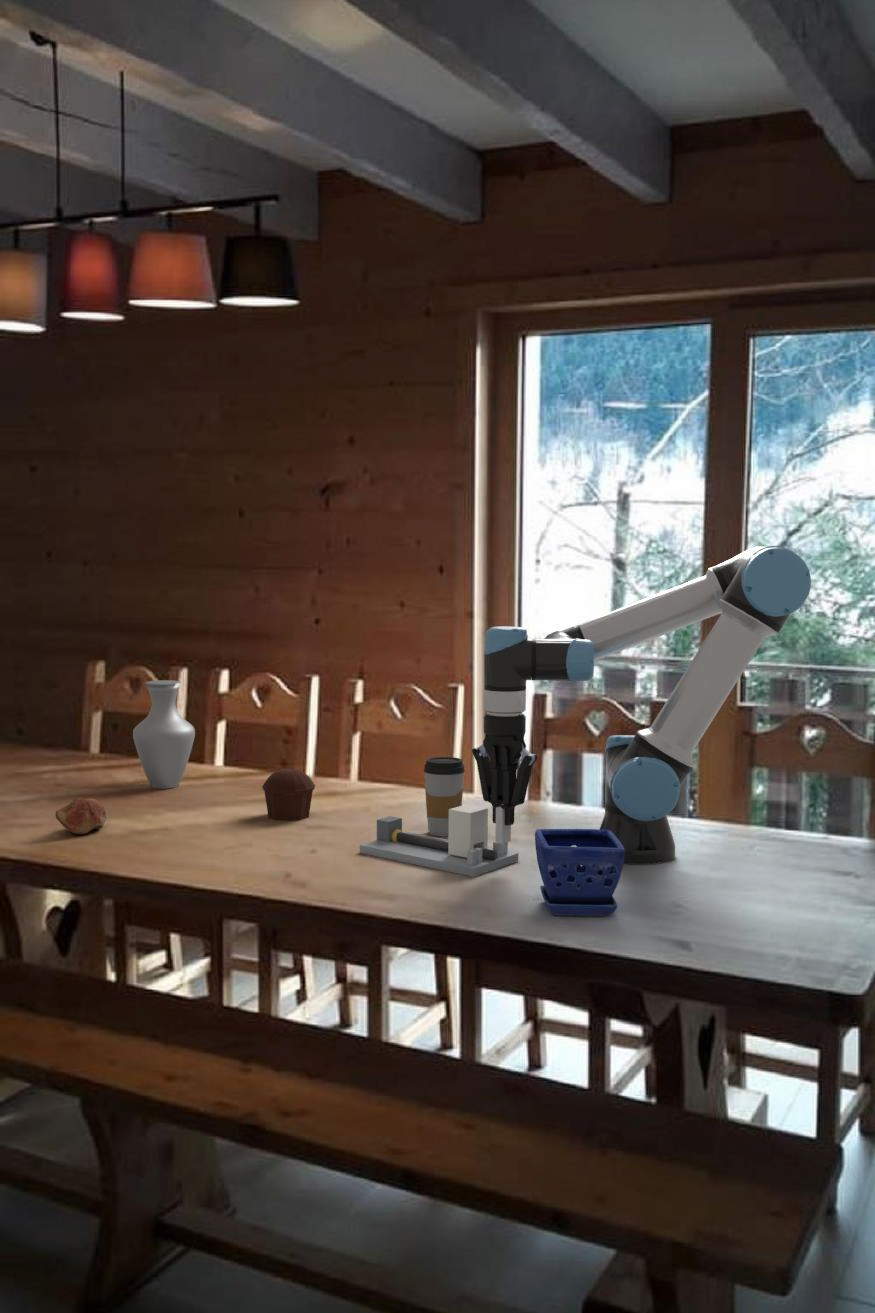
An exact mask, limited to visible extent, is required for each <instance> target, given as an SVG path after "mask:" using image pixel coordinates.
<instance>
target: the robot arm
mask: <svg viewBox="0 0 875 1313" xmlns="http://www.w3.org/2000/svg"><path fill="white" fill-rule="evenodd" d="M811 585H812V578H811V573H810V569H809V567H808V565H807V563H806V562H805V561H804V559H803V558H801V556H800V555H798V554H797V553H795V552H794V551H793V550H791V549H788V548H786V547H785V546H780V545H758V546H753V547H750V548H749V549H746V550H745V551H743V552H741V553H739V554H737V555H735V556H734V557H732V558H730V559H728V560H725V561H724V562H722V563H719V564H717V565H714V566H712V567H709V568H708V569H707V571H706V572H705V575H704V576H701V577H698V578H695V579H693V580H689V581H688V582H685V583H683V584H681V585H677V586H675V587H672V588H670V589H667V590H664V591H662V592H659V593H656V594H654V595H651V596H648V597H645V598H643V599H641V600H638V601H635V602H633V603H630V604H628V605H625V606H622V607H620V608H617V609H615V610H613V611H610V612H607V613H605V614H602V615H600V616H597V617H594V618H592V619H590V620H589V619H588V620H586V621H583V622H581V623H578V625H574V626H571V627H569V628H566V629H563V630H555V631H553V632H551V633H549V634H547V635H546V636H545V637H544V638H532V637H529V636H528V631H527V628H525V627H522V626H506V625H505V626H504V625H503V626H492V627H490V628H488V630H487V631H486V632H485V638H484V639H485V640H484V651H483V652H484V654H483V656H484V657H483V658H484V659H483V660H484V663H483V664H484V667H483V670H484V674H483V675H484V683H483V684H484V690H483V710H484V711H485V712H486V713H485V714H484V715H483V733H484V734H485V737H484V739H483V741H482V744H481V745H480V746H478V747H475V748H474V747H473V748H472V750H471V753H472V755H473V757H474V759H475V762H476V765H477V766H476V767H477V772H478V777H479V782H480V788H481V794H482V799H483V801H484V802H488V803H490V804H491V806H492V824H495V836H494V837H495V841H494V842H495V843H500V844H504V843H507V842H508V843H509V842H511V841H512V839H511V838H512V833H511V832H512V826H513V825H514V824H515V808H516V807H518V806H519V805H523V804H524V803H525V800H526V797H527V796H526V795H527V791H528V787H529V784H530V777H531V774H532V769H533V766H534V764H535V763H536V761H537V759H538V755H537V754H536V753H531V752H530V751H529V750H528V749H527V745H526V742H525V734H526V731H527V730H526V727H527V725H526V723H527V721H526V718H527V716H526V715H525V714H524V712H525V711H526V709H527V707H526V706H527V705H526V704H527V703H526V702H527V681H548V682H549V681H552V682H554V681H555V682H572V683H576V682H588V681H591V680H592V679H593V678H594V670H595V668H594V667H595V661H598V660H601V659H602V658H603V659H604V658H605V657H608V656H611V655H614V654H616V653H619V652H622V651H625V650H626V649H629V648H632V647H634V646H637V645H640V644H643V643H645V642H649V641H651V640H654V639H655V638H659V637H662V636H664V635H667V634H669V633H672V632H675V631H677V630H680V629H683V628H686V627H688V626H691V625H694V624H696V623H699V622H702V621H704V620H706V619H709V618H712V617H715V616H718V618H717V619H716V620H717V621H716V622H715V624H714V625H713V626H712V628H711V630H710V631H709V633H708V635H707V636H706V638H705V639H704V641H703V642H702V644H701V646H700V647H699V649H698V650H697V652H696V654H695V655H694V657H693V658H692V660H691V662H690V663H689V664H688V666H687V668H686V670H685V672H683V674H682V676H681V678H680V680H678V682H677V684H676V686H675V687H674V689H673V691H672V692H671V694H670V695H669V697H668V698H667V700H666V701H665V703H664V705H663V706H662V708H661V709H660V711H659V712H658V714H657V716H656V717H655V719H654V720H653V722H652V724H651V726H649V727H648V728H643V729H640V730H637V731H636V733H635V735H631V734H629V735H627V734H625V735H624V734H623V735H622V734H620V735H619V734H618V735H617V734H615V735H610V736H608V738H607V739H606V745H605V749H604V753H605V786H604V787H605V790H604V791H605V793H604V794H605V795H604V798H605V799H604V814H603V818H602V821H601V824H600V827H599V828H598V829H599V830H610V831H612V832H613V834H614V835H615V836H616V837H617V839H618V840H619V841H620V842H621V844H622V845H623V847H624V849H625V854H624V862H623V864H631V865H654V864H662V863H667V862H670V861H672V860H674V859H675V857H676V843H675V840H674V836H673V833H672V830H671V827H670V822H669V819H668V814H670V813H671V812H672V811H673V809H674V808H675V806H676V805H677V804H678V801H679V798H680V794H681V787H682V785H684V782H685V781H686V779H687V778H688V776H689V775H690V773H691V771H692V770H693V768H694V766H695V765H694V759H693V752H694V751H695V749H696V747H697V746H698V744H699V743H700V741H701V739H702V738H703V736H704V734H705V733H706V732H707V730H708V729H709V726H710V725H711V724H712V722H713V721H714V719H715V717H716V716H717V714H718V712H719V711H720V709H721V708H722V706H723V704H725V701H726V700H727V698H728V697H729V695H730V694H731V692H732V690H733V689H734V687H735V685H736V684H737V682H738V681H739V680H740V678H741V676H742V675H743V673H744V672H745V670H746V668H747V667H748V665H749V664H750V661H751V660H752V659H753V658H754V655H755V654H756V652H757V651H758V649H760V647H761V644H762V643H763V641H764V640H765V639H767V638H771V637H774V636H778V635H779V633H780V632H781V630H782V628H783V627H784V626H785V623H786V622H787V620H788V618H790V616H791V614H793V613H795V612H796V611H798V610H799V609H800V608H801V606H803V605H804V603H805V602H806V600H807V599H808V597H809V594H810V591H811V589H812V588H811ZM519 762H520V763H519ZM517 770H518V771H517Z"/></svg>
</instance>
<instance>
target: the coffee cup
mask: <svg viewBox="0 0 875 1313" xmlns="http://www.w3.org/2000/svg"><path fill="white" fill-rule="evenodd" d="M465 771H466V770H465V764H464V763H463V759H462V758H458V757H453V756H452V757H451V756H437V757H436V756H435V757H429V758H427V759H426V761H425V764H424V768H423V772H424V778H425V779H424V781H425V782H424V783H425V785H424V786H425V788H424V789H425V807H426V819H427V830H428V832H429V834H430V835H431V836H434V837H435V836H437V837H448V835H449V809H452V808H455V807H459V806H463V792H464V788H463V787H464V785H463V784H464V775H465Z"/></svg>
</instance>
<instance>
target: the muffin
mask: <svg viewBox="0 0 875 1313" xmlns="http://www.w3.org/2000/svg"><path fill="white" fill-rule="evenodd" d="M315 789H316V784H315V783H314V782H313V780H312V778H311V777H310V776H309V775H307V774H306V773H304V772H303V771H301V770H300V769H297V768H281V769H277V770H276V771H274V772H273V773H271V774H270V775H269V776H268V778H267V779H266V780H265V782H264V783H263V785H262V790H263V791H264V792H263V793H264V797H265V802H266V804H265V805H266V809H267V816H268V819H271V820H274V821H287V822H291V821H301V820H304V819H309V818H310V811H311V804H312V798H313V792H314V790H315Z"/></svg>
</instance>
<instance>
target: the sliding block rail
mask: <svg viewBox="0 0 875 1313" xmlns="http://www.w3.org/2000/svg"><path fill="white" fill-rule="evenodd" d="M508 846H509V842H507V843H504V844H500V843H495V841H494V842H493V843H492V847H487V849H485V848H480V847H475V846H474V850H468V851H467V858H465V857H460V856H455V855H451V854H448V838H447V839H446V838H441V837H435V836H432V835H431V836H430V835H425V834H420V833H415V832H410V831H403V819H402V817H397V816H391V815H390V816H386V817H383V818H377V819H376V840H373V841H368V842H366V843H362V844H359V853H360V854H364V855H370V856H375V857H378V858H384V859H389V860H393V861H396V862H397V861H398V862H403V863H407V864H412V865H417V866H422V867H427V868H431V869H436V870H441V871H445V872H449V873H450V872H451V873H454V874H459V875H464V876H468V877H476V876H477V877H478V876H480V875H482V874H485V873H489V872H491V871H494V870H497V869H500V868H502V867H506V866H509V865H510V864H514V863H517V862H519V852H513V851H508V850H509V848H508Z"/></svg>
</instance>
